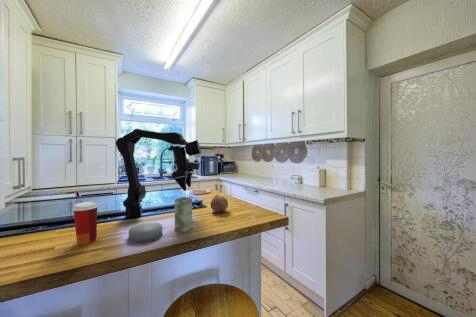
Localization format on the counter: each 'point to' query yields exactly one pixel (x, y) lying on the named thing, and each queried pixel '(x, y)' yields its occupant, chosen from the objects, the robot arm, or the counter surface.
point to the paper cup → (85, 222)
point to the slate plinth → (145, 232)
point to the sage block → (183, 214)
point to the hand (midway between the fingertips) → (187, 188)
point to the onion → (219, 204)
